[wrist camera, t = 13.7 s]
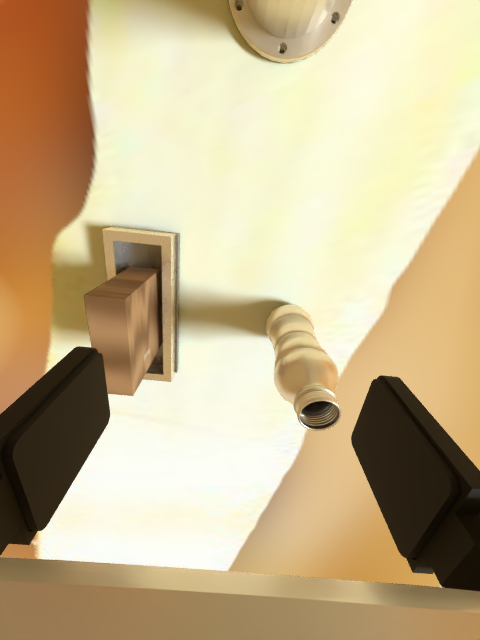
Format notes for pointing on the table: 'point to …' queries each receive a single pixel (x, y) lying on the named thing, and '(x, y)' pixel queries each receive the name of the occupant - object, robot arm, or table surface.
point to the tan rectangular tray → (160, 254)
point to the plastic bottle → (303, 368)
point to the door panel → (126, 326)
